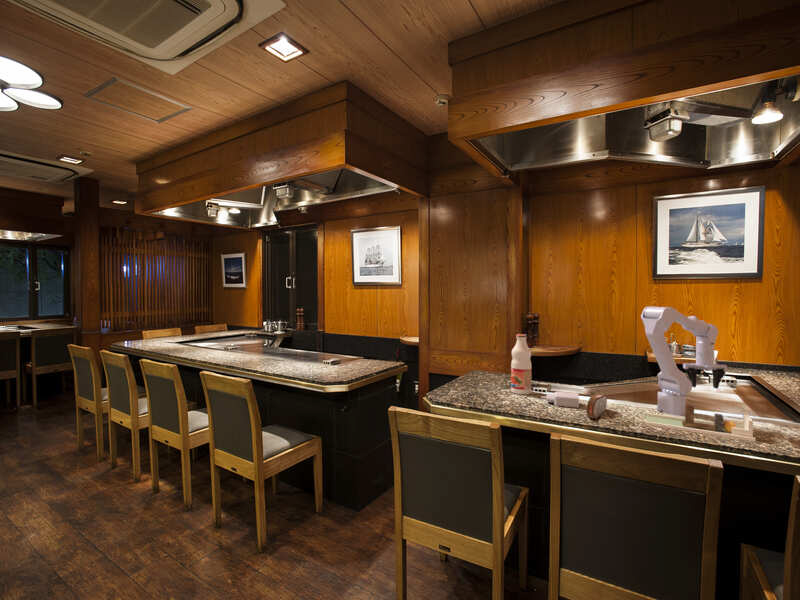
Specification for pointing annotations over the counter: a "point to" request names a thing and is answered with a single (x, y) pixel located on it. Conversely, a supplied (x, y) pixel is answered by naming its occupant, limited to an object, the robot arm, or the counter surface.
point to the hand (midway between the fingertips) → (704, 387)
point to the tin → (596, 406)
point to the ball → (728, 426)
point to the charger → (564, 399)
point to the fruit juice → (521, 366)
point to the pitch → (671, 422)
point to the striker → (690, 422)
